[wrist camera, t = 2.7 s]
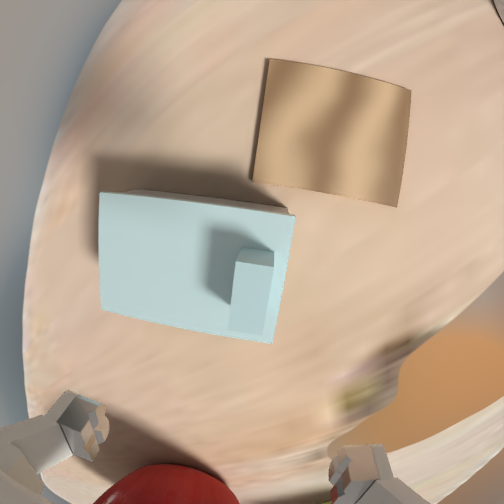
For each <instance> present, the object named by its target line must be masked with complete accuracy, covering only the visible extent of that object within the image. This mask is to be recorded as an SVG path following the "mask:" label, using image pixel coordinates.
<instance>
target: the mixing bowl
mask: <svg viewBox="0 0 504 504" xmlns="http://www.w3.org/2000/svg"><path fill="white" fill-rule="evenodd" d="M93 504H240V503H239V501H238V500H237V498H236V496H235V495H234V493H233V492H232V491H231V490H230V489H229V488H228V487H227V486H226V485H225V484H223V483H222V482H220V481H219V480H217V479H215V478H214V477H212V476H210V475H209V474H207V473H205V472H203V471H200V470H198V469H195V468H191V467H187V466H183V465H176V464H157V465H149V466H145V467H142V468H139V469H137V470H135V471H134V472H132V473H130V474H129V475H127V476H125V477H124V478H122V479H121V480H120V481H118V482H117V483H115V484H114V485H113V486H112V487H110V488H109V489H108V490H107V491H106V492H104V493H103V494H102V495H101V496H100V497H99V498H98V499H97V500H96V501H95V502H94V503H93Z"/></svg>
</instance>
